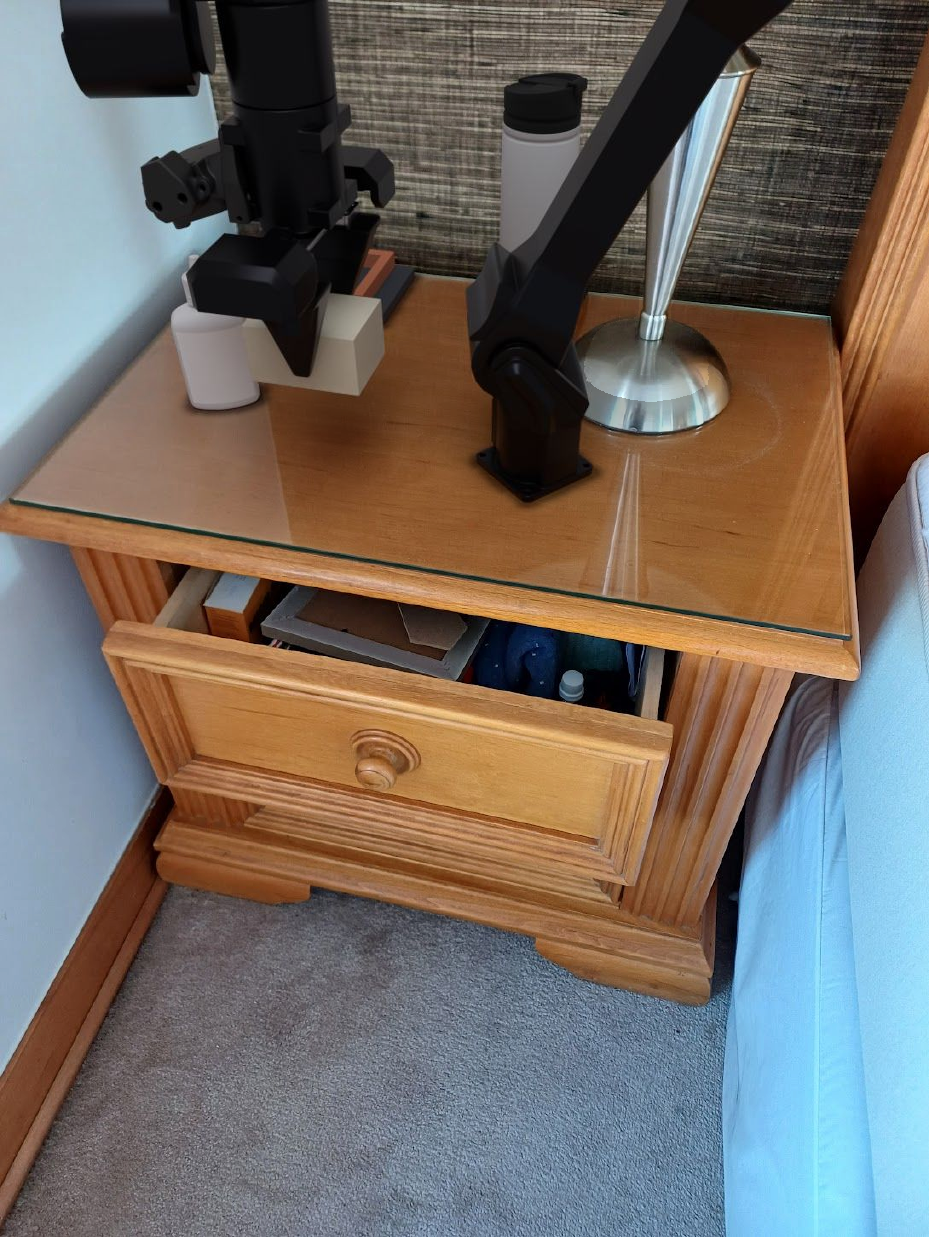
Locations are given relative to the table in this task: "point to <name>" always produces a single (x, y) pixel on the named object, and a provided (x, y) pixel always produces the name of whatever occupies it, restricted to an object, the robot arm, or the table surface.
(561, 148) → the travel mug
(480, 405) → the table surface
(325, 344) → the cream block
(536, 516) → the table surface
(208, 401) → the eye dropper bottle
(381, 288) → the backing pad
